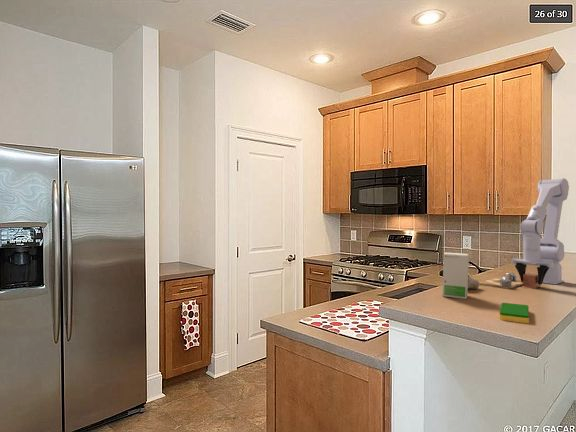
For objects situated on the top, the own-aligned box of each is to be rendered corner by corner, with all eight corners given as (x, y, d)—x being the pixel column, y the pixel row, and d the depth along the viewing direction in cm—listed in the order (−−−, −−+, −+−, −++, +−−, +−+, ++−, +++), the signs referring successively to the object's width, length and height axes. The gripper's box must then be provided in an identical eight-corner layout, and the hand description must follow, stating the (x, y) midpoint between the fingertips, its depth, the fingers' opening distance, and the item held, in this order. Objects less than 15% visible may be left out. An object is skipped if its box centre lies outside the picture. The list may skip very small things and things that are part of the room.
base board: (498, 279, 169) (498, 277, 169) (527, 283, 159) (527, 281, 159) (478, 284, 159) (478, 282, 159) (508, 289, 149) (508, 286, 149)
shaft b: (499, 283, 155) (499, 276, 155) (509, 284, 154) (509, 276, 154) (501, 285, 151) (501, 277, 151) (511, 286, 150) (511, 278, 150)
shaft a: (508, 279, 165) (508, 271, 165) (516, 280, 162) (516, 272, 162) (502, 280, 162) (502, 272, 162) (511, 281, 160) (511, 274, 160)
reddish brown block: (528, 285, 156) (528, 273, 156) (540, 287, 153) (540, 274, 152) (523, 286, 154) (523, 274, 154) (535, 288, 150) (535, 275, 150)
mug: (485, 291, 147) (477, 270, 145) (462, 301, 148) (453, 281, 145) (475, 282, 155) (467, 262, 152) (453, 293, 155) (444, 273, 153)
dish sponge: (499, 321, 109) (499, 312, 109) (501, 309, 121) (501, 302, 121) (528, 324, 105) (528, 316, 105) (528, 312, 117) (528, 305, 117)
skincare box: (442, 296, 137) (442, 253, 137) (444, 293, 143) (444, 251, 143) (467, 299, 133) (467, 255, 133) (468, 295, 139) (468, 252, 139)
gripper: (508, 248, 156) (507, 281, 157) (548, 251, 145) (548, 287, 145) (515, 247, 161) (515, 279, 161) (555, 250, 149) (555, 284, 149)
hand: (531, 283), depth 153 cm, fingers open, 6 cm apart
